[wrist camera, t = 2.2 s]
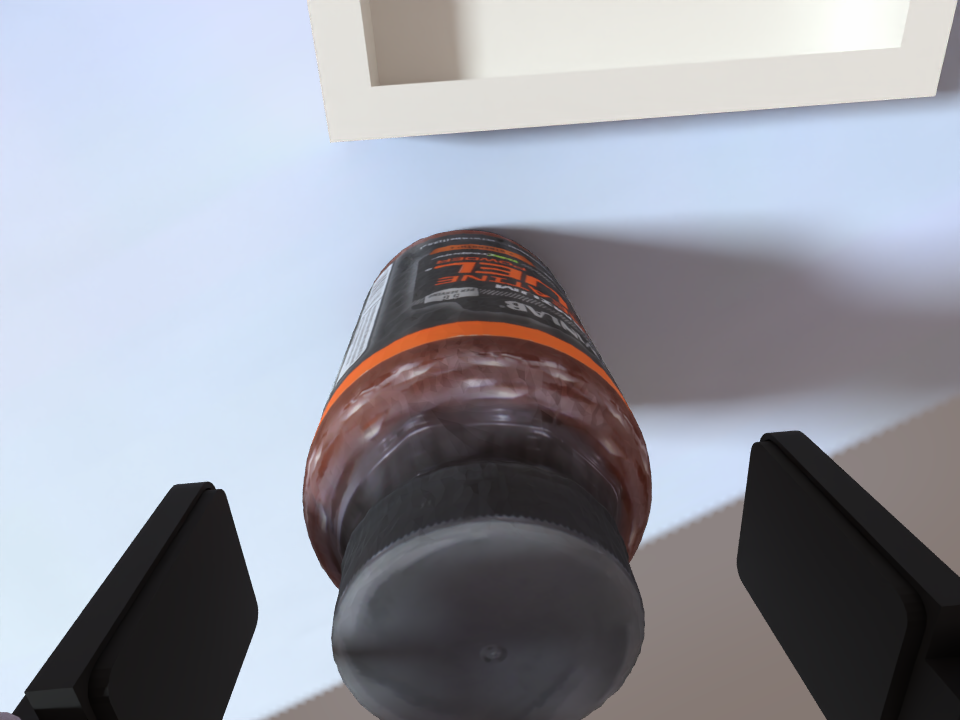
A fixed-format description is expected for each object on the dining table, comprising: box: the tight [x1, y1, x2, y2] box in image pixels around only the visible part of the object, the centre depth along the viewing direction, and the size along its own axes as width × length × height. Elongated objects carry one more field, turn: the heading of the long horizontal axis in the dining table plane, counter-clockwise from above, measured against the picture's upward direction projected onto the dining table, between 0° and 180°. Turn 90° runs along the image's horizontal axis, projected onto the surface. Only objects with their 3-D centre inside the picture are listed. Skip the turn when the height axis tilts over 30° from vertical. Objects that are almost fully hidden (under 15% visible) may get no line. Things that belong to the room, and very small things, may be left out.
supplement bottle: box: [303, 230, 652, 720], centre depth 13 cm, size 6×6×11 cm
